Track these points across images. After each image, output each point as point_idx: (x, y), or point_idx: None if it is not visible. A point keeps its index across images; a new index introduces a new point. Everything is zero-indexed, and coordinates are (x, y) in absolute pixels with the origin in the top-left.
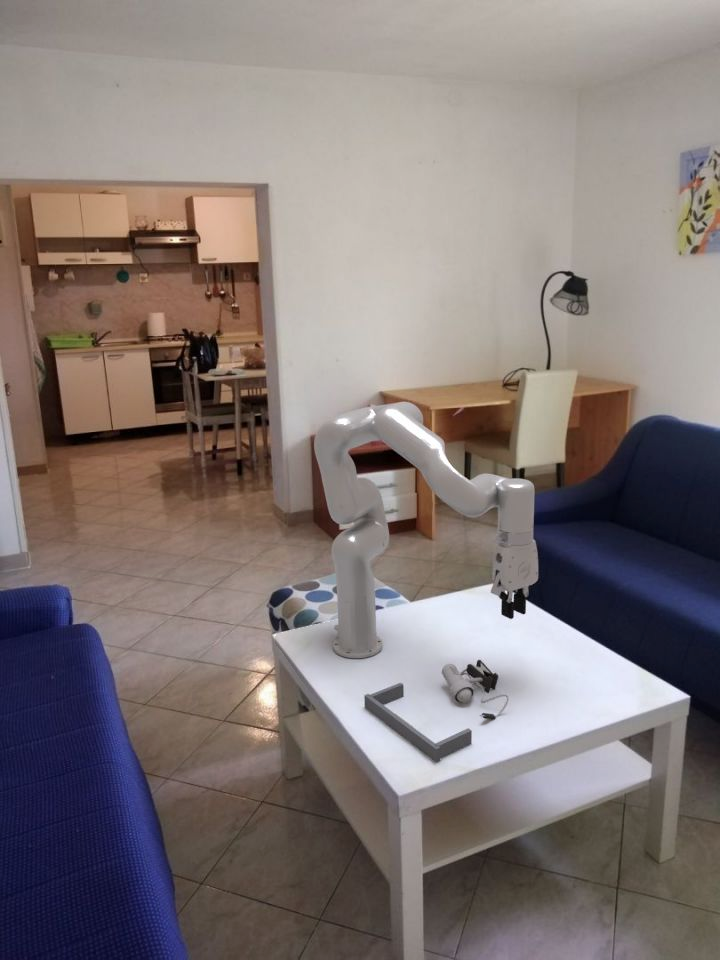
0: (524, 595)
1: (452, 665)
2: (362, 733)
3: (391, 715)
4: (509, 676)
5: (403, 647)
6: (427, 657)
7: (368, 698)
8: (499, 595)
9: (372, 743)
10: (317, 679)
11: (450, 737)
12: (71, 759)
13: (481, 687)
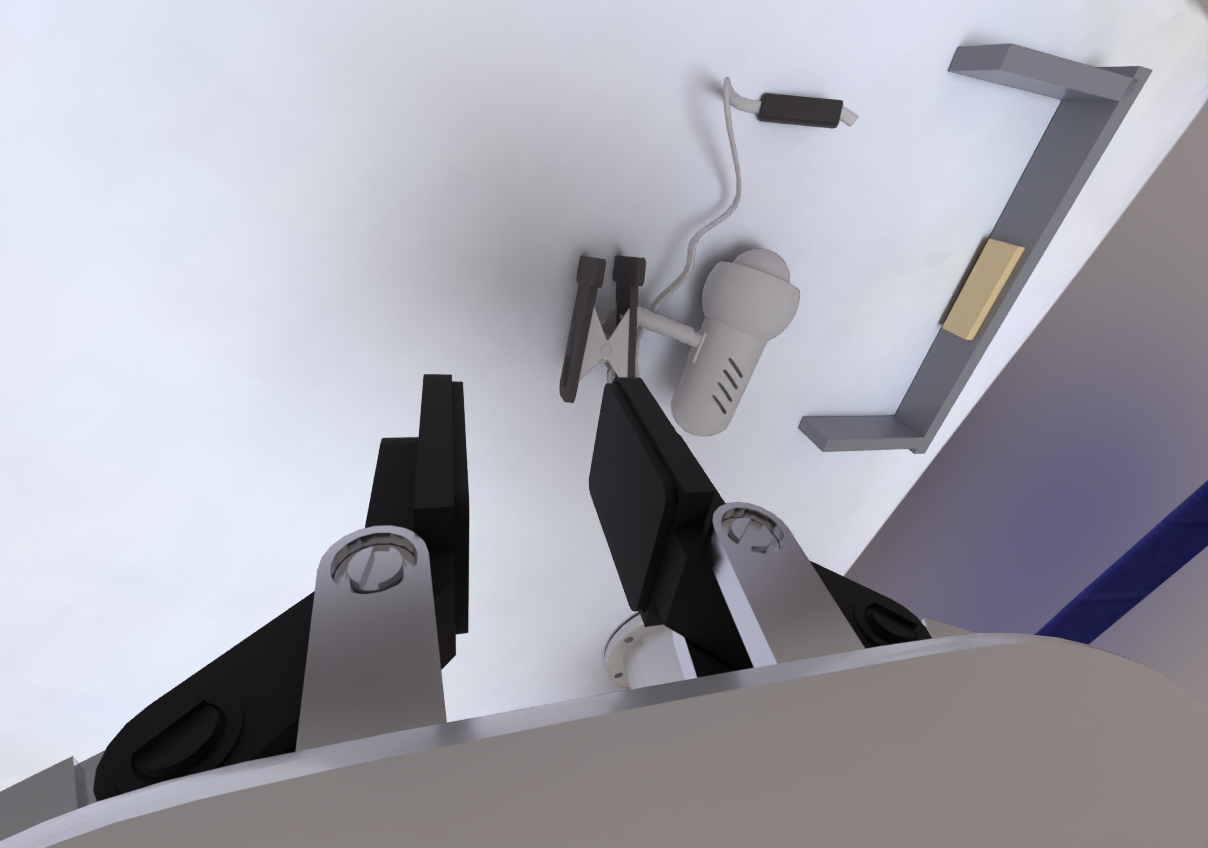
0: (426, 553)
1: (708, 416)
2: (1000, 347)
3: (995, 333)
4: (445, 288)
5: (584, 602)
6: (578, 537)
7: (933, 436)
8: (937, 628)
9: (1035, 296)
10: (835, 570)
11: (1074, 82)
12: (1163, 546)
13: (694, 260)
